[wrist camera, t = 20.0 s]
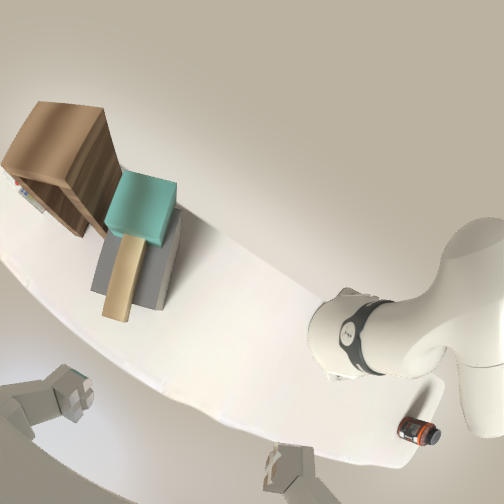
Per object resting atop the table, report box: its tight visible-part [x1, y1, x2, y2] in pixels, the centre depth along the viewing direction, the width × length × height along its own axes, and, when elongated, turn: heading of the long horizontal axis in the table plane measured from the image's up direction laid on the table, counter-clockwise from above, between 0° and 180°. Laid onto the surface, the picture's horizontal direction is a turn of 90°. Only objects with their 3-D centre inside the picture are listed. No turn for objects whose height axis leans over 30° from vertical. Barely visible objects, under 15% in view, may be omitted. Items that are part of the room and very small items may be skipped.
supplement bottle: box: [398, 417, 441, 446], centre depth 45 cm, size 6×6×11 cm
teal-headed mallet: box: [102, 170, 177, 322], centre depth 27 cm, size 6×15×5 cm, turn 168°
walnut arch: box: [1, 101, 122, 239], centre depth 31 cm, size 9×8×26 cm
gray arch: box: [91, 208, 182, 310], centre depth 37 cm, size 8×12×15 cm, turn 168°
